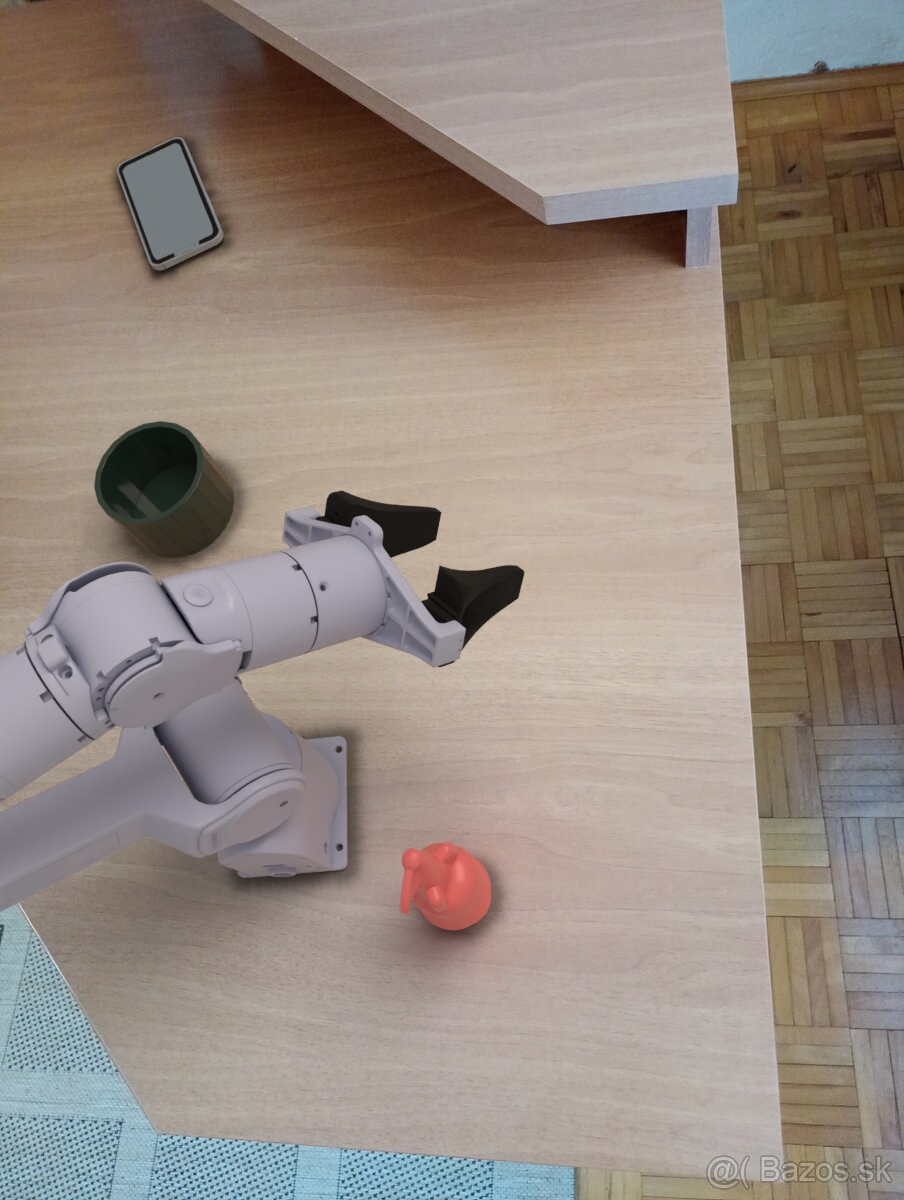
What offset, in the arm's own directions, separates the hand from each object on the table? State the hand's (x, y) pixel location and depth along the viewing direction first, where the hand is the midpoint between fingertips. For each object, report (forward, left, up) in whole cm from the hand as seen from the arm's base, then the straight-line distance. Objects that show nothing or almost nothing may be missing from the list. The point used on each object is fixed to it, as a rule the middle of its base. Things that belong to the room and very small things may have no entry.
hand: (475, 552), depth 66 cm
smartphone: (+47, +29, -14) cm, 58 cm away
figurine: (-19, +4, -14) cm, 24 cm away
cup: (+14, +26, -14) cm, 33 cm away
